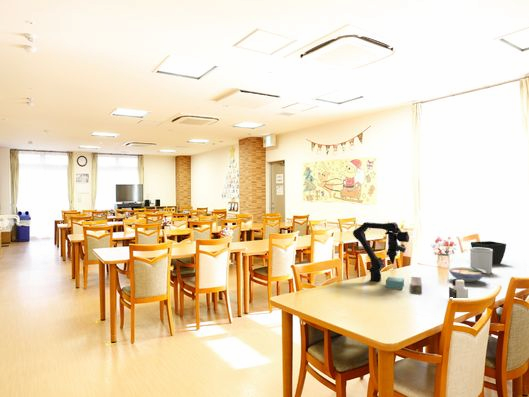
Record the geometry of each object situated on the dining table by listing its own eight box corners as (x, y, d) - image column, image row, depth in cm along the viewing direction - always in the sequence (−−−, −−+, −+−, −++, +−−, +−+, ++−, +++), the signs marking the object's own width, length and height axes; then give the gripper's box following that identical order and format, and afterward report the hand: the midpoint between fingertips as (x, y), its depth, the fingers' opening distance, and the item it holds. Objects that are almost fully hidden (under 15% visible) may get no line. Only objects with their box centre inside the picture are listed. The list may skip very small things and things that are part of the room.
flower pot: (470, 261, 316) (469, 241, 315) (490, 260, 318) (490, 240, 317) (485, 265, 297) (485, 244, 296) (507, 264, 299) (507, 244, 298)
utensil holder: (496, 272, 274) (496, 248, 273) (487, 275, 265) (486, 251, 265) (476, 268, 286) (476, 246, 285) (466, 271, 278) (466, 248, 277)
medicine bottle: (448, 298, 213) (448, 278, 212) (460, 298, 213) (460, 277, 213) (456, 302, 206) (456, 281, 205) (468, 301, 206) (468, 280, 206)
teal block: (385, 287, 239) (385, 280, 239) (388, 284, 248) (388, 276, 247) (402, 289, 234) (402, 281, 234) (403, 285, 243) (403, 278, 243)
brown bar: (411, 293, 226) (411, 285, 226) (411, 284, 247) (411, 276, 247) (421, 293, 224) (421, 285, 224) (421, 284, 244) (421, 277, 244)
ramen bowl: (443, 276, 265) (443, 264, 265) (478, 277, 261) (478, 265, 260) (454, 285, 241) (454, 272, 241) (492, 286, 236) (492, 273, 236)
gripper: (404, 243, 237) (404, 267, 238) (406, 239, 254) (406, 262, 255) (386, 242, 242) (386, 266, 242) (389, 239, 259) (389, 261, 259)
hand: (392, 263), depth 249 cm, fingers closed
